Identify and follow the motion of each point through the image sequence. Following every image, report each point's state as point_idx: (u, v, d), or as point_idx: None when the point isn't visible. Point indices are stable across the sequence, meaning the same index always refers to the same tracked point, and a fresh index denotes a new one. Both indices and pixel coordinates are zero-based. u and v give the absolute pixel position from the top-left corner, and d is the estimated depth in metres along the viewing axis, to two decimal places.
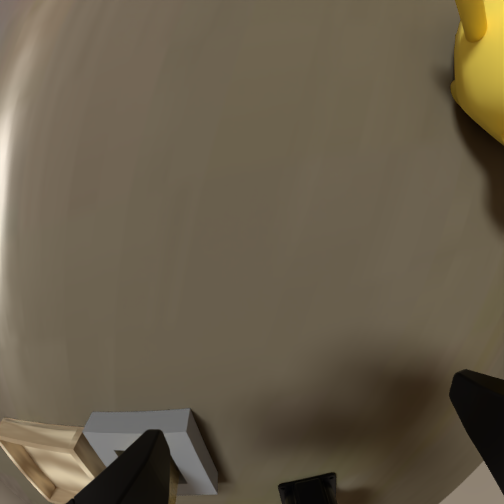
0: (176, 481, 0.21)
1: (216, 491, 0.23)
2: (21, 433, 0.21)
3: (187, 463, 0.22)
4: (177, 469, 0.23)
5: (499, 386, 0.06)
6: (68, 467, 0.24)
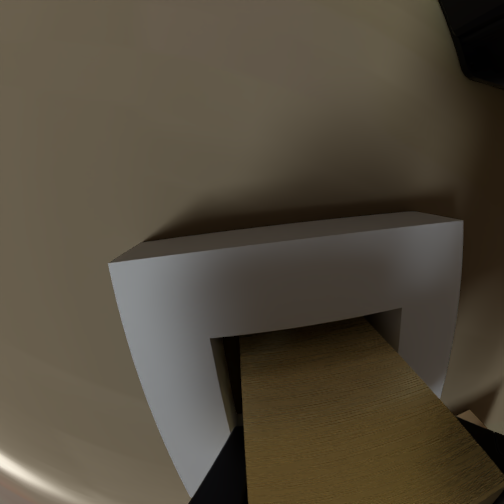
0: (372, 345, 0.08)
1: (452, 221, 0.08)
2: None
3: (281, 290, 0.08)
4: (349, 324, 0.09)
5: None
6: None
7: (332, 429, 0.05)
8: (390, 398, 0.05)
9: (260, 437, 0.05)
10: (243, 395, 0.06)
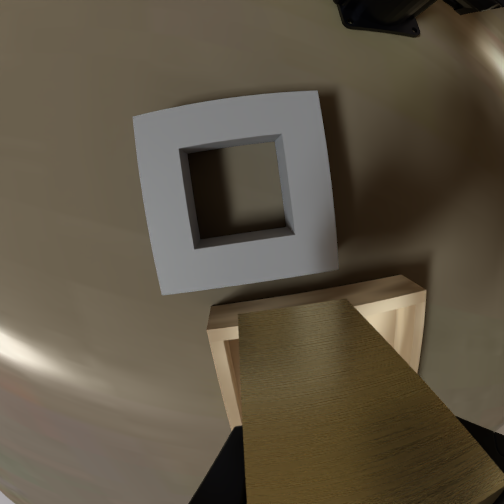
0: (372, 344, 0.08)
1: (310, 91, 0.15)
2: None
3: (213, 122, 0.15)
4: (348, 323, 0.09)
5: None
6: None
7: (331, 429, 0.05)
8: (390, 397, 0.05)
9: (260, 436, 0.05)
10: (242, 394, 0.06)
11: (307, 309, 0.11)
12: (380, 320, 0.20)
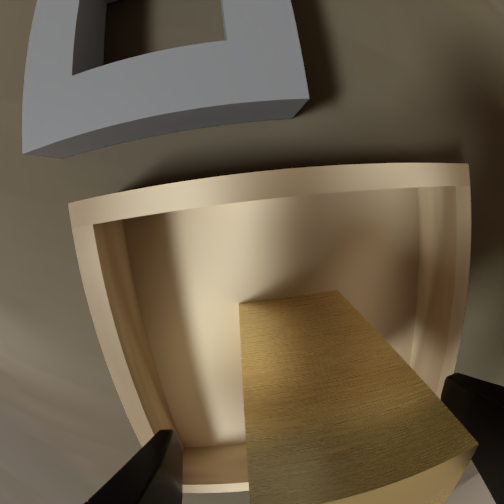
0: (358, 328, 0.09)
1: None
2: None
3: None
4: (338, 311, 0.10)
5: (491, 391, 0.06)
6: None
7: (319, 395, 0.06)
8: (371, 371, 0.06)
9: (258, 401, 0.06)
10: (243, 368, 0.07)
11: (301, 298, 0.12)
12: (394, 235, 0.12)
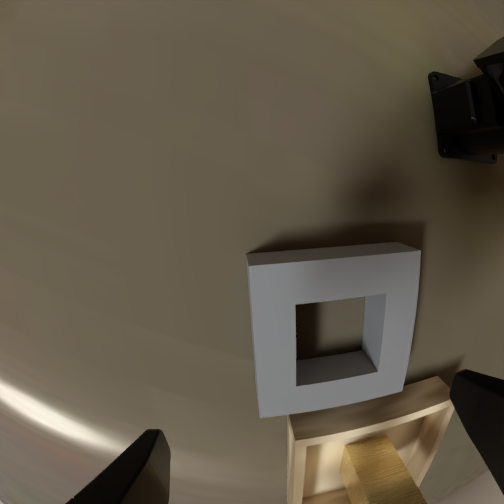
0: (396, 461, 0.18)
1: (415, 250, 0.16)
2: (290, 490, 0.20)
3: (330, 281, 0.16)
4: (388, 450, 0.20)
5: (499, 386, 0.06)
6: None
7: (387, 491, 0.15)
8: (401, 481, 0.16)
9: (370, 495, 0.15)
10: (361, 483, 0.17)
11: (372, 441, 0.21)
12: None
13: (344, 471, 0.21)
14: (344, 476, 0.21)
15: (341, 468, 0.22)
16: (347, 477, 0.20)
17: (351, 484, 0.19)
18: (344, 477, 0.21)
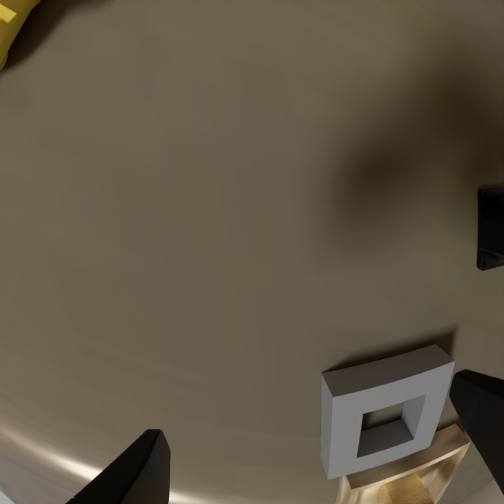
0: (422, 490, 0.20)
1: (450, 361, 0.18)
2: None
3: (389, 395, 0.18)
4: (416, 482, 0.22)
5: (499, 386, 0.06)
6: None
7: None
8: None
9: None
10: None
11: None
12: None
13: (381, 498, 0.23)
14: (381, 502, 0.23)
15: (378, 496, 0.24)
16: (383, 503, 0.22)
17: None
18: (381, 503, 0.23)
